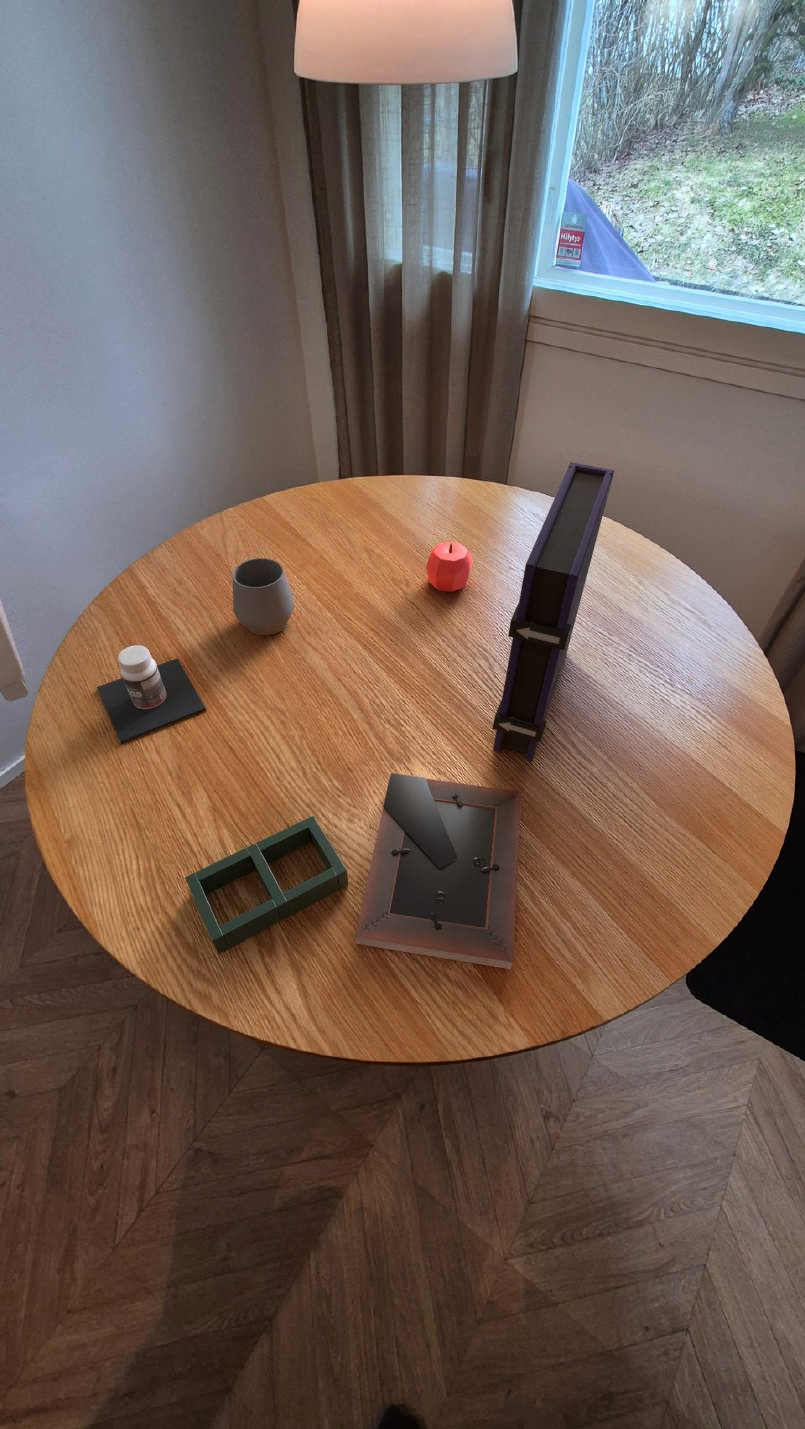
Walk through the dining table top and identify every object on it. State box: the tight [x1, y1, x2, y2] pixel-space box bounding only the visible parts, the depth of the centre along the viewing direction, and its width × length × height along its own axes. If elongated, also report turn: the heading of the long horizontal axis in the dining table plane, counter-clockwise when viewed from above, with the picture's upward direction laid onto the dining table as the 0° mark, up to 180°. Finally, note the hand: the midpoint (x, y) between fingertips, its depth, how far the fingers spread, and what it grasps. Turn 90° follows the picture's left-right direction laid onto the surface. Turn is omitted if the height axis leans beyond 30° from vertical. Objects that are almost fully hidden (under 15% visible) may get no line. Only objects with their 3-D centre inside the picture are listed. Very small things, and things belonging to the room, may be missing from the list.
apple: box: [425, 541, 474, 593], centre depth 111 cm, size 8×8×8 cm
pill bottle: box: [117, 644, 166, 709], centre depth 91 cm, size 5×5×8 cm
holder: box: [184, 815, 349, 955], centre depth 74 cm, size 16×8×4 cm, turn 121°
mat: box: [96, 657, 207, 745], centre depth 94 cm, size 12×12×1 cm
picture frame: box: [354, 772, 522, 970], centre depth 76 cm, size 16×2×22 cm
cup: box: [232, 557, 295, 636], centre depth 102 cm, size 10×9×10 cm
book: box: [492, 462, 615, 763], centre depth 84 cm, size 24×6×30 cm, turn 159°
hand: (7, 660), depth 58 cm, fingers open, 8 cm apart
